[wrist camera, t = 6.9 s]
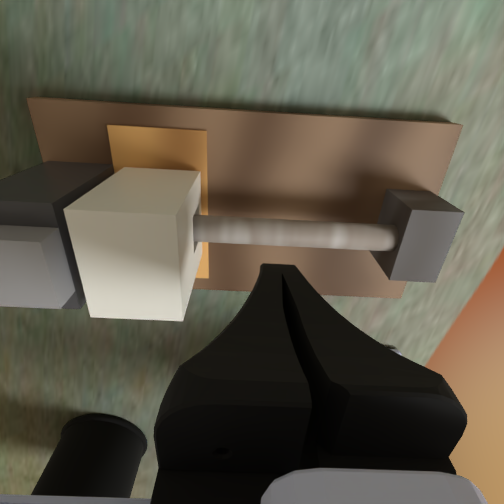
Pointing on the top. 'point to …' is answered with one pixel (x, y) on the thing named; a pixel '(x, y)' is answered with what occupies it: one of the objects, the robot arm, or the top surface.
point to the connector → (43, 234)
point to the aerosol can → (94, 459)
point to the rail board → (282, 187)
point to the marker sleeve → (138, 243)
